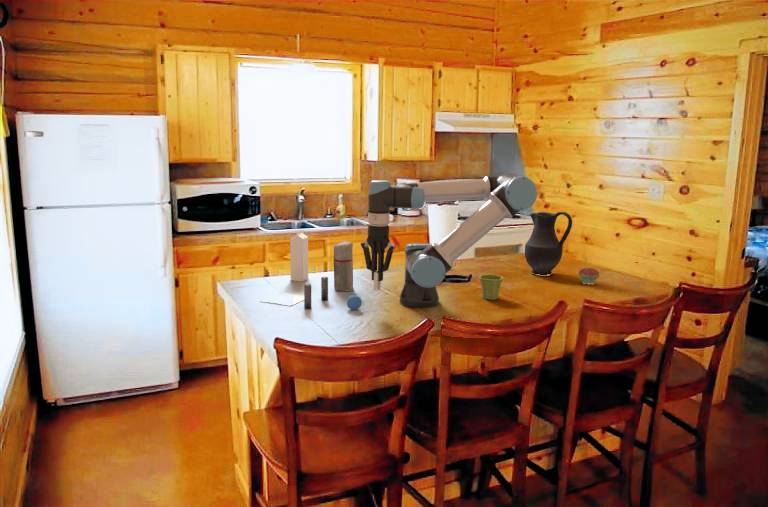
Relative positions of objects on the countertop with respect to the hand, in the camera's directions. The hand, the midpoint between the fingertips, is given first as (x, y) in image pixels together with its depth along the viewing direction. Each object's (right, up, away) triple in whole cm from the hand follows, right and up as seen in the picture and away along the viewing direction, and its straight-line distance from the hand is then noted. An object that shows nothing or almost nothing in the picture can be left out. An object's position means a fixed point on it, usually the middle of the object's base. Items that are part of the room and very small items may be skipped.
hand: (377, 289), depth 221 cm
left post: (-26, -7, +6) cm, 27 cm away
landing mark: (-36, -5, +17) cm, 40 cm away
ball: (-8, -5, +5) cm, 11 cm away
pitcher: (+78, +3, +66) cm, 102 cm away
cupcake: (+93, -1, +50) cm, 105 cm away
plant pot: (+45, -5, +24) cm, 51 cm away
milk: (-35, +1, +49) cm, 60 cm away
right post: (-21, -5, +18) cm, 27 cm away
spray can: (-14, -2, +34) cm, 37 cm away
